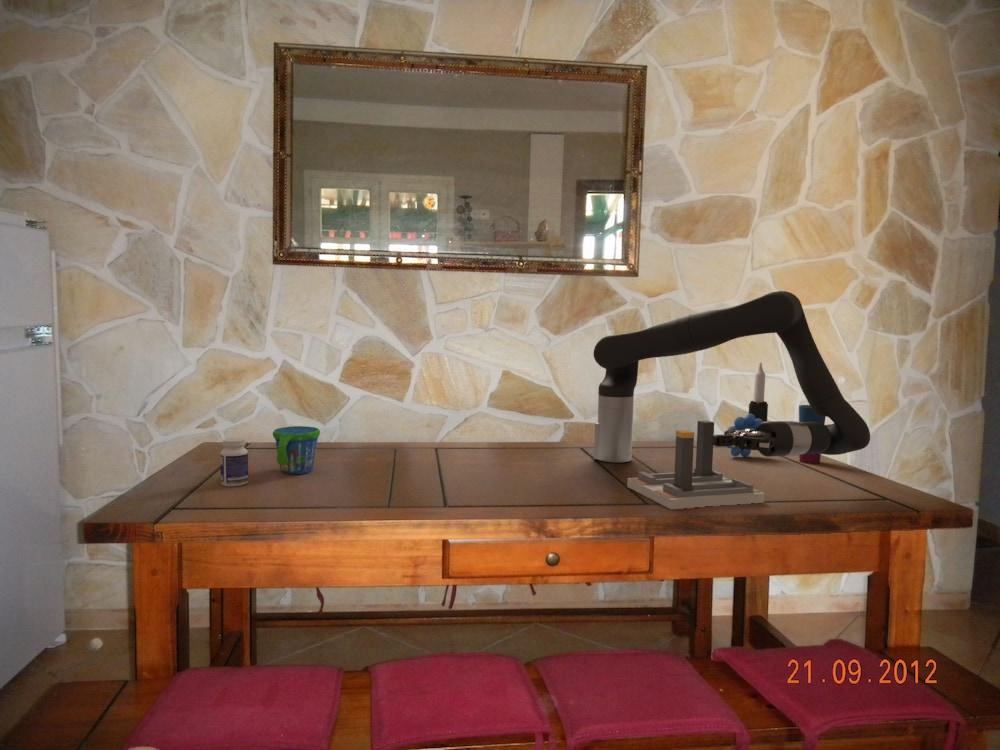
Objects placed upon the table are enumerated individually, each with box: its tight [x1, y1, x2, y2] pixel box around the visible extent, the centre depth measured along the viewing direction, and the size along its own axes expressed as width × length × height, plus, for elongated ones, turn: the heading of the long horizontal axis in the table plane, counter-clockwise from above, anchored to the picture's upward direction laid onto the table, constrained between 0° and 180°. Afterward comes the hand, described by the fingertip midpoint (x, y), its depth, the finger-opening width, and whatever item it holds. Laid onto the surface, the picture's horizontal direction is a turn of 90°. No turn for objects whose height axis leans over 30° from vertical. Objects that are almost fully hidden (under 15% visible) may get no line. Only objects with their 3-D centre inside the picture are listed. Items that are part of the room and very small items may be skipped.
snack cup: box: [272, 425, 321, 475], centre depth 172 cm, size 16×10×10 cm
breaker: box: [673, 429, 695, 491], centre depth 149 cm, size 3×3×13 cm
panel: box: [627, 420, 765, 510], centre depth 157 cm, size 22×19×15 cm
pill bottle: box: [219, 437, 249, 487], centre depth 159 cm, size 6×6×10 cm
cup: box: [798, 404, 827, 464], centre depth 194 cm, size 7×7×15 cm
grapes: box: [725, 413, 763, 458], centre depth 200 cm, size 12×7×12 cm, turn 102°
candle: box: [748, 362, 769, 422], centre depth 215 cm, size 5×5×25 cm
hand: (713, 440), depth 151 cm, fingers closed
